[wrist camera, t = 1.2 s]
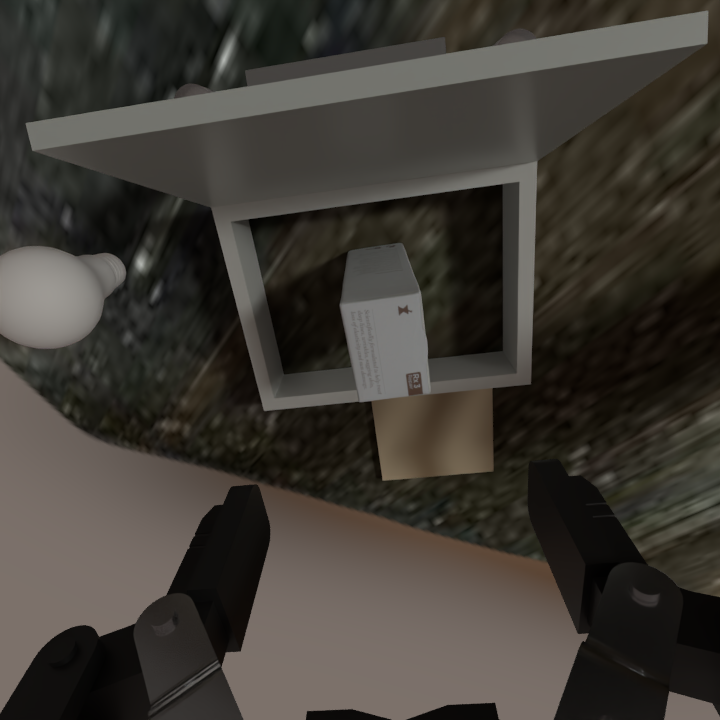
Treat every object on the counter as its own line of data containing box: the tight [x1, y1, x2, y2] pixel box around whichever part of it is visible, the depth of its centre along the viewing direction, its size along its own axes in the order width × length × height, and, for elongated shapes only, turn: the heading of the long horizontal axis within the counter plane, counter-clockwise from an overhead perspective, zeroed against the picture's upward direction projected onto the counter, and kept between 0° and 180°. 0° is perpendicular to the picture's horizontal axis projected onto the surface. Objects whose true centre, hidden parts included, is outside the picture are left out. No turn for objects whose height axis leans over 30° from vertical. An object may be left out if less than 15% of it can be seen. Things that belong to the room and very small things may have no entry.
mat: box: [371, 388, 493, 481], centre depth 39 cm, size 10×9×1 cm
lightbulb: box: [0, 246, 126, 349], centre depth 29 cm, size 6×6×11 cm
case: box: [211, 161, 537, 411], centre depth 32 cm, size 20×15×4 cm
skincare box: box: [339, 243, 431, 402], centre depth 29 cm, size 6×4×12 cm
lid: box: [26, 11, 708, 207], centre depth 20 cm, size 20×14×1 cm
